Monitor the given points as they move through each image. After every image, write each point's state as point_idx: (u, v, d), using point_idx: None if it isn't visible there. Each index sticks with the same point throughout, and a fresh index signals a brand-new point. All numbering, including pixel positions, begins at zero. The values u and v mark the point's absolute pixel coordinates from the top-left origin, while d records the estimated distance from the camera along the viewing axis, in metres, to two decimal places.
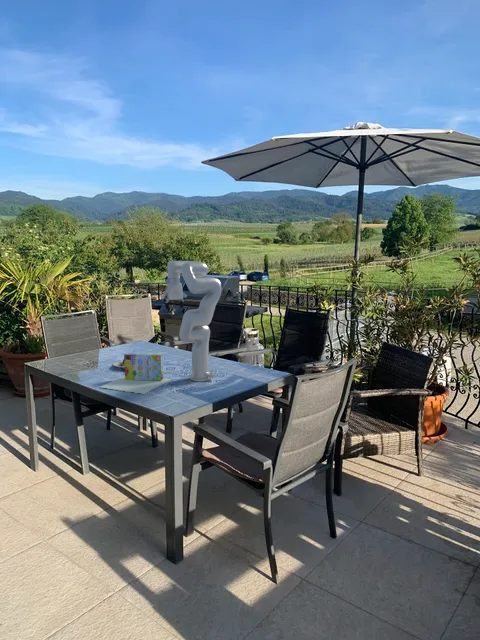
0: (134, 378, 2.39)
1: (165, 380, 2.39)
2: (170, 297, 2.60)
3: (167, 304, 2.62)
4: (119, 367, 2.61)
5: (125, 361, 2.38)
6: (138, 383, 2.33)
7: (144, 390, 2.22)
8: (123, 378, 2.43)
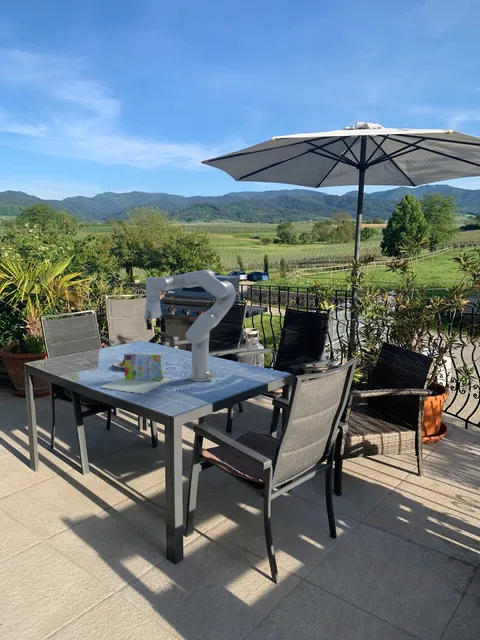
0: (134, 378, 2.39)
1: (165, 380, 2.39)
2: None
3: None
4: (119, 367, 2.61)
5: (125, 361, 2.38)
6: (138, 383, 2.33)
7: (144, 390, 2.22)
8: (123, 378, 2.43)
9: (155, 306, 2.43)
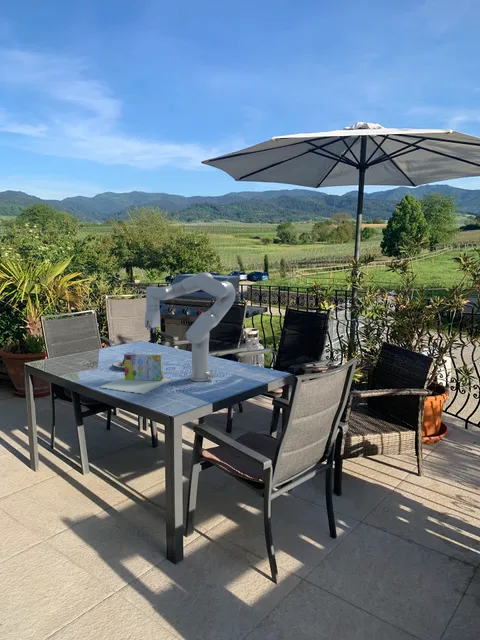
0: (134, 378, 2.39)
1: (165, 380, 2.39)
2: None
3: None
4: (119, 367, 2.61)
5: (125, 361, 2.38)
6: (138, 383, 2.33)
7: (144, 390, 2.22)
8: (123, 378, 2.43)
9: (155, 316, 2.44)
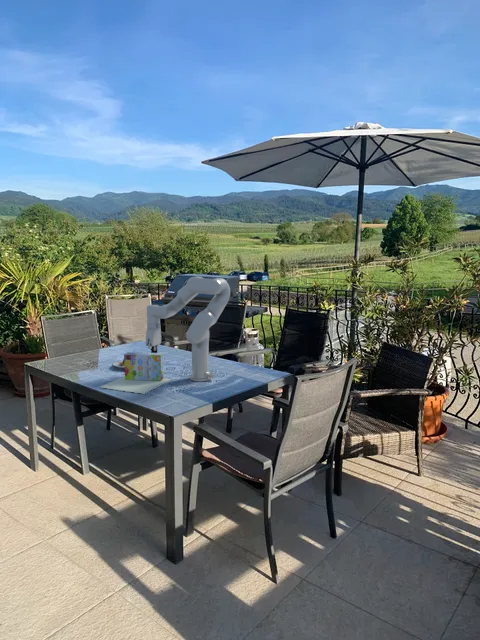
0: (134, 378, 2.39)
1: (165, 380, 2.39)
2: None
3: None
4: (119, 367, 2.61)
5: (125, 361, 2.38)
6: (138, 383, 2.33)
7: (144, 390, 2.22)
8: (123, 378, 2.43)
9: (156, 334, 2.45)
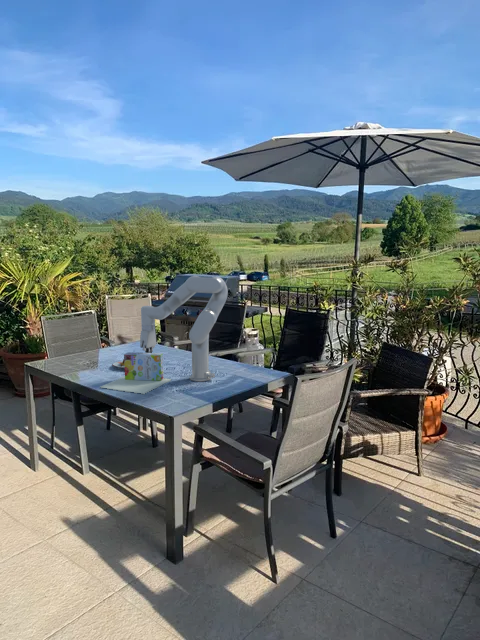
0: (134, 378, 2.39)
1: (165, 380, 2.39)
2: None
3: None
4: (119, 367, 2.61)
5: (125, 361, 2.38)
6: (138, 383, 2.33)
7: (144, 390, 2.22)
8: (123, 378, 2.43)
9: (150, 335, 2.41)
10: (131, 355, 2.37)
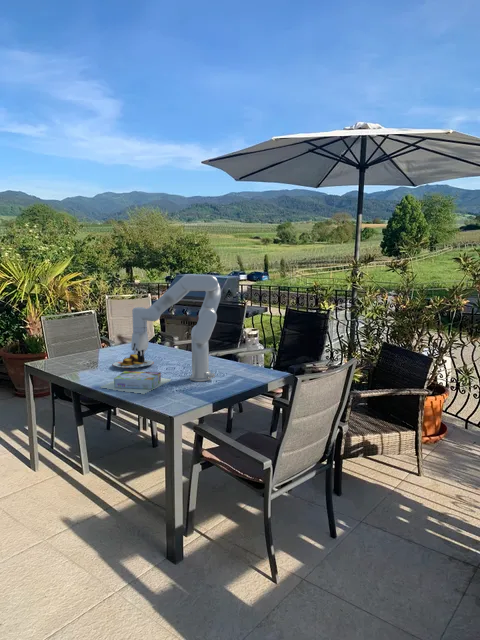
0: None
1: (165, 380, 2.39)
2: None
3: None
4: (119, 367, 2.61)
5: None
6: None
7: (144, 390, 2.22)
8: None
9: (142, 338, 2.33)
10: (122, 387, 2.25)
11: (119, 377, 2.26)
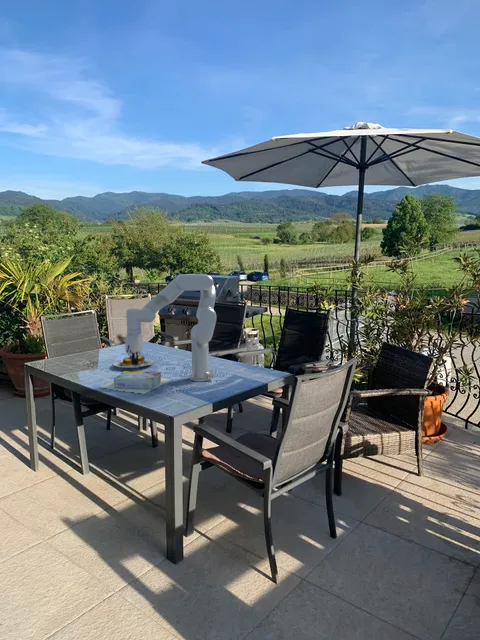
0: None
1: (165, 380, 2.39)
2: None
3: None
4: (119, 367, 2.61)
5: None
6: None
7: (144, 390, 2.22)
8: None
9: (136, 340, 2.28)
10: (122, 387, 2.25)
11: (119, 377, 2.26)
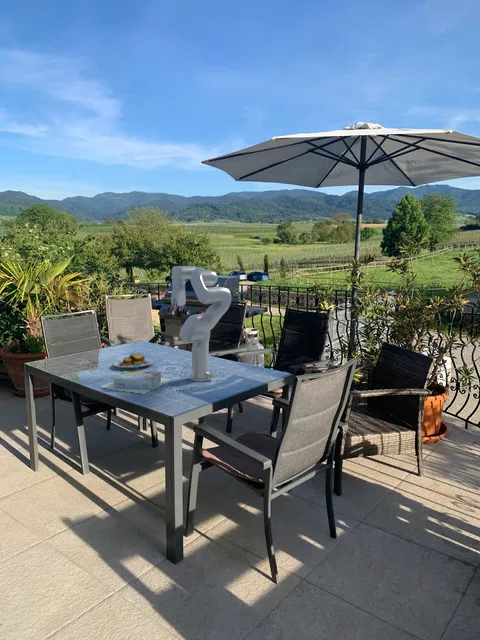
0: None
1: (165, 380, 2.39)
2: None
3: None
4: (119, 367, 2.62)
5: None
6: None
7: (144, 390, 2.22)
8: None
9: (181, 294, 2.54)
10: (122, 387, 2.25)
11: (119, 377, 2.26)
